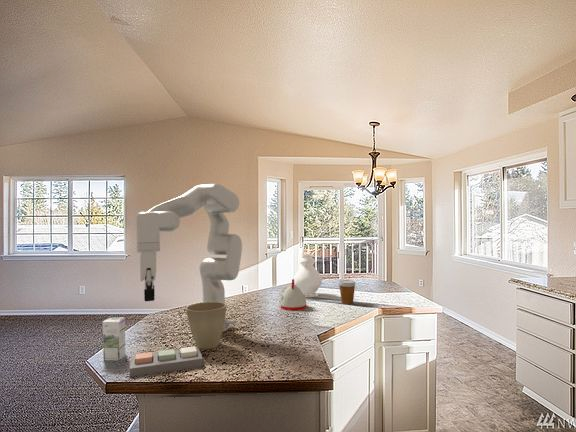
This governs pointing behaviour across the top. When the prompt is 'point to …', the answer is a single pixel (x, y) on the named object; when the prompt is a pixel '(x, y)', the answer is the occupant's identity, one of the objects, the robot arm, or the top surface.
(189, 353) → the cream button
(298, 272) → the decorative vase
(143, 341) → the top surface
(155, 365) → the button panel
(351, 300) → the disposable coffee cup
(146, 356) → the terracotta button
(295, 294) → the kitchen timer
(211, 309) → the plant pot
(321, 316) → the top surface
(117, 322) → the syrup box
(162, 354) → the sage button
